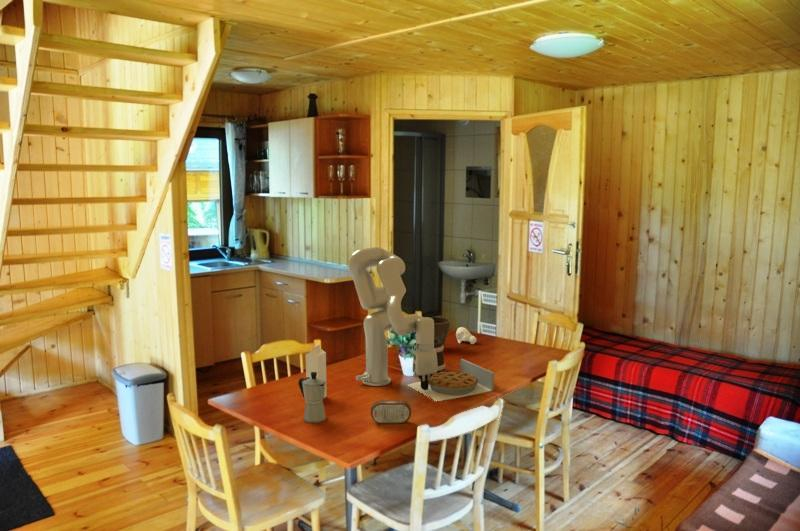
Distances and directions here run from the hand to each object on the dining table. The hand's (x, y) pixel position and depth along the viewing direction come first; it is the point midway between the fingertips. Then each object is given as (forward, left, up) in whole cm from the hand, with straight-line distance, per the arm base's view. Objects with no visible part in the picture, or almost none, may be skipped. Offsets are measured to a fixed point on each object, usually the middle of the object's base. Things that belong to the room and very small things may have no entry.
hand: (424, 389), depth 260 cm
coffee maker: (-52, -5, -2) cm, 52 cm away
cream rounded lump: (+62, +60, -2) cm, 86 cm away
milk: (-43, +15, -2) cm, 45 cm away
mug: (+16, +26, -2) cm, 31 cm away
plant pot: (+40, +57, -2) cm, 70 cm away
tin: (-28, -23, -2) cm, 36 cm away
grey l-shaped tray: (+13, 0, -2) cm, 13 cm away
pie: (+13, -2, -1) cm, 13 cm away
